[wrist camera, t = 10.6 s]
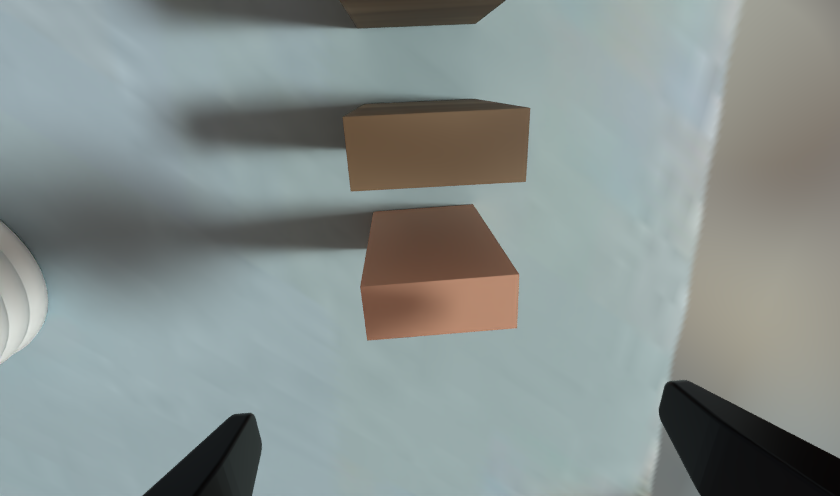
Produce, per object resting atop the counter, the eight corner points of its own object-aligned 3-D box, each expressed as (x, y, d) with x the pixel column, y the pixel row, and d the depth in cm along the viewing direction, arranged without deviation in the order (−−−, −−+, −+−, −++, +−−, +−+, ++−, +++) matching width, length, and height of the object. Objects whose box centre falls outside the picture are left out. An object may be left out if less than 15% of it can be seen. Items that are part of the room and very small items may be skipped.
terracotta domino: (473, 241, 21) (516, 328, 13) (377, 248, 20) (367, 340, 13) (473, 204, 20) (519, 274, 12) (373, 211, 20) (360, 286, 12)
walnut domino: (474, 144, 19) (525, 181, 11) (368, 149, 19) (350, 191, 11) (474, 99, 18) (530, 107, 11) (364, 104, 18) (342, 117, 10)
